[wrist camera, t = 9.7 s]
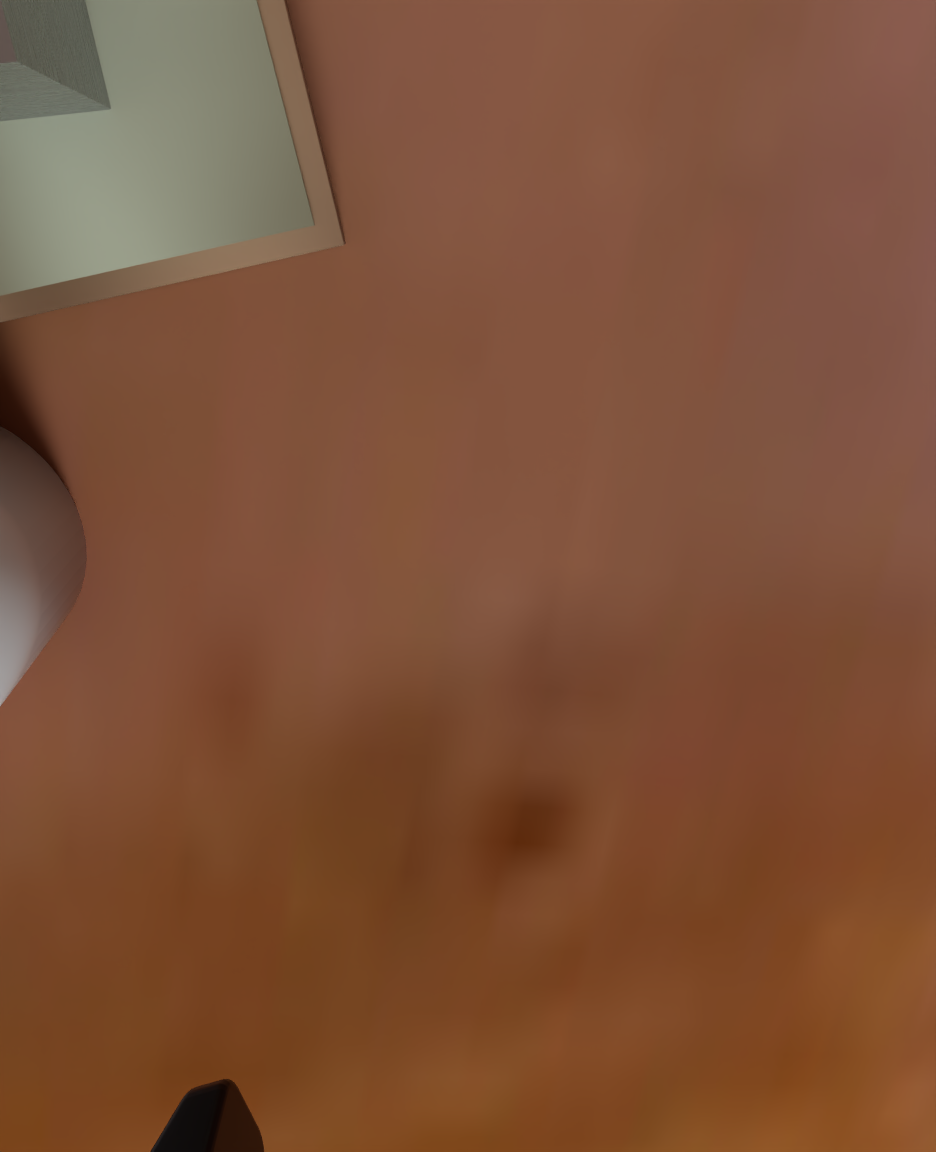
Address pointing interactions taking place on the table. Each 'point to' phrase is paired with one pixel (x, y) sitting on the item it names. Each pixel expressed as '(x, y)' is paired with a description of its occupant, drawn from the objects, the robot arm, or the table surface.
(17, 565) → the light grey rounded cylinder
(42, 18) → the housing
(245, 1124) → the robot arm
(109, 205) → the stand
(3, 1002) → the table surface
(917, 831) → the table surface
